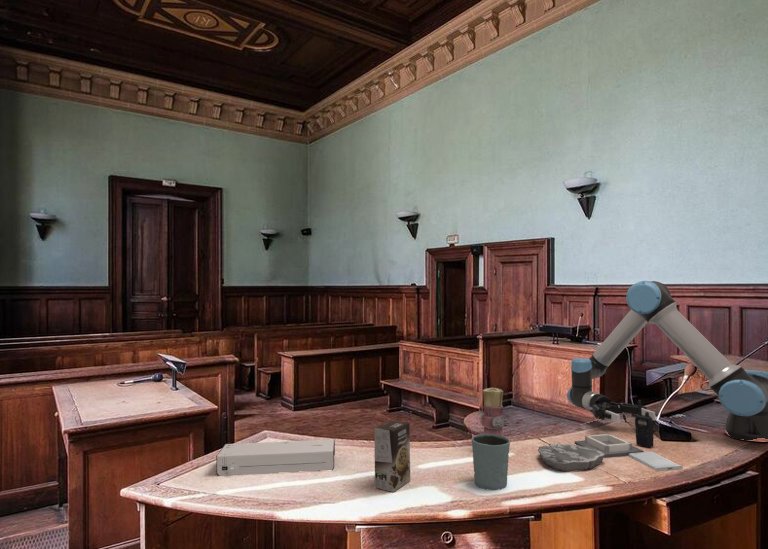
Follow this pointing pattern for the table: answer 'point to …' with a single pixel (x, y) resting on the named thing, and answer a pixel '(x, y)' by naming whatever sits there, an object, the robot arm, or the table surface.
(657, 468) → the hard drive
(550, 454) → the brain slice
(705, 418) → the table surface
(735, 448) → the table surface
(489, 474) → the grey cup
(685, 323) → the robot arm
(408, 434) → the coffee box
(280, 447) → the laminator
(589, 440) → the charging cradle
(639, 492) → the table surface
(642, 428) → the two-way radio
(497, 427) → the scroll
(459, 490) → the table surface
